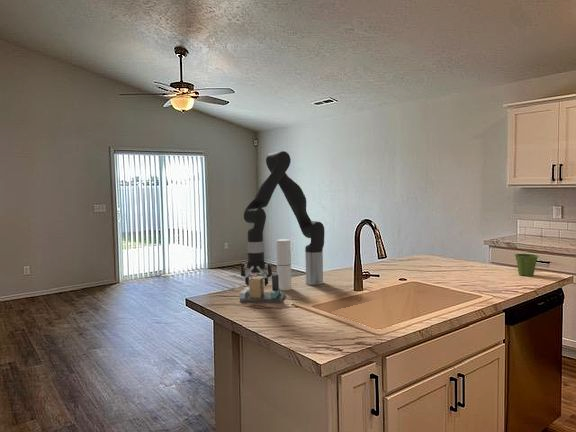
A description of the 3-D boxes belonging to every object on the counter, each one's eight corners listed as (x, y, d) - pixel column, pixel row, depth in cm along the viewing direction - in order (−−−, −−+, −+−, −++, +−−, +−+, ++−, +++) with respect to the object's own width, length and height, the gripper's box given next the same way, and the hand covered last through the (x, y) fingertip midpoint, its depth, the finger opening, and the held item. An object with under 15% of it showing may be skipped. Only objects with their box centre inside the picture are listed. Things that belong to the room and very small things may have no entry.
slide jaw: (274, 292, 206) (274, 272, 206) (281, 292, 206) (280, 272, 205) (270, 298, 195) (269, 277, 195) (276, 298, 195) (276, 277, 194)
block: (253, 293, 206) (253, 276, 206) (263, 293, 205) (263, 276, 205) (249, 297, 199) (249, 280, 198) (260, 297, 198) (259, 280, 197)
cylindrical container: (279, 290, 216) (278, 241, 214) (275, 287, 223) (274, 239, 221) (293, 289, 218) (292, 240, 216) (289, 286, 225) (288, 238, 223)
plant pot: (543, 276, 238) (543, 255, 237) (527, 278, 233) (528, 257, 232) (524, 272, 249) (524, 252, 248) (509, 274, 244) (509, 254, 243)
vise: (246, 295, 209) (246, 286, 209) (285, 295, 206) (285, 287, 206) (239, 301, 197) (239, 293, 197) (280, 302, 194) (280, 294, 194)
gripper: (272, 249, 203) (273, 283, 204) (243, 249, 205) (244, 283, 207) (269, 252, 196) (270, 287, 197) (238, 252, 198) (239, 287, 199)
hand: (256, 285), depth 202 cm, fingers open, 8 cm apart
